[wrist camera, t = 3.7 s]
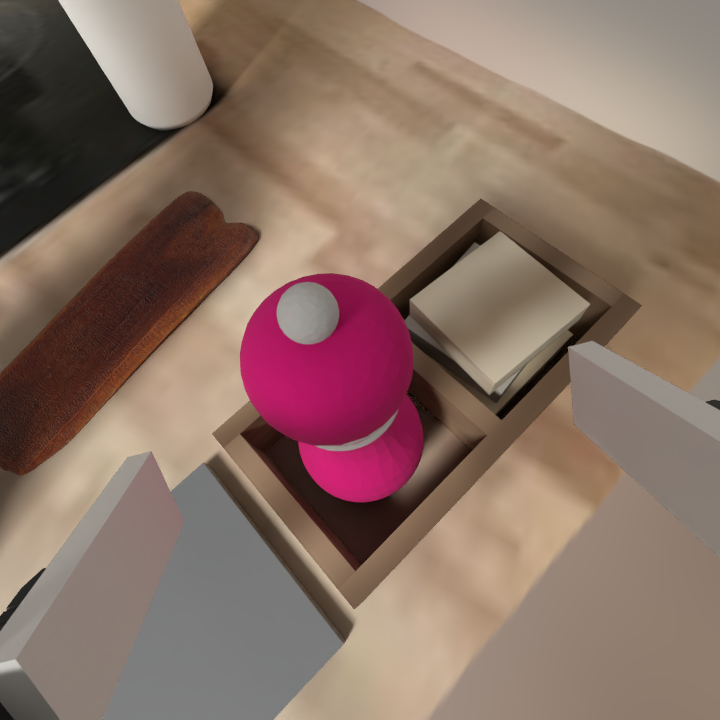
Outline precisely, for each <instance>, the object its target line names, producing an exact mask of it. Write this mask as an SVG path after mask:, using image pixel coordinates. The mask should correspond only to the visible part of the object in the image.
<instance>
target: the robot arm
mask: <svg viewBox="0 0 720 720" xmlns="http://www.w3.org/2000/svg"><path fill="white" fill-rule="evenodd" d="M568 353H569V367H570V380H571V393H572V407H573V420H574V425H575V426H576V427H577V428H578V429H579V430H580V431H582V432H583V433H584V434H585V435H586V436H587V437H588V438H589V439H590V440H591V441H592V442H594V443H595V444H596V445H597V446H598V447H599V448H600V449H601V450H602V451H603V452H604V453H606V454H607V455H608V456H609V457H610V458H611V459H612V460H613V461H614V462H615V463H616V464H618V465H619V466H620V467H621V468H622V469H623V470H624V471H625V472H626V473H627V474H629V475H630V476H631V477H632V478H633V479H634V480H635V481H636V482H637V483H638V484H639V485H641V486H642V487H643V488H644V489H645V490H646V491H647V492H648V493H649V494H650V495H651V496H653V497H654V498H655V499H656V500H657V501H658V502H659V503H660V504H661V505H662V506H663V507H665V508H666V509H667V510H668V511H669V512H670V513H671V514H672V515H673V516H674V517H675V518H677V519H678V520H679V521H680V522H681V523H682V524H683V525H684V526H685V527H686V528H687V529H689V530H690V531H691V532H692V533H693V534H694V535H695V536H696V537H697V538H698V539H699V540H701V541H702V542H703V543H704V544H705V545H706V546H707V547H708V548H709V549H710V550H711V551H713V552H714V553H715V554H716V555H717V556H718V557H719V558H720V401H717V400H711V401H707V402H704V401H702V400H700V399H698V398H696V397H695V396H693V395H691V394H689V393H687V392H686V391H684V390H682V389H680V388H678V387H676V386H675V385H673V384H671V383H669V382H667V381H665V380H664V379H662V378H660V377H658V376H656V375H654V374H652V373H651V372H649V371H647V370H645V369H643V368H641V367H640V366H638V365H636V364H634V363H632V362H630V361H629V360H627V359H625V358H623V357H621V356H619V355H618V354H616V353H614V352H612V351H610V350H608V349H607V348H605V347H603V346H601V345H599V344H597V343H596V342H594V341H590V342H586V343H582V344H578V345H574V346H570V347H568ZM183 524H184V520H183V517H182V515H181V513H180V511H179V509H178V507H177V505H176V503H175V500H174V498H173V496H172V494H171V492H170V490H169V488H168V485H167V483H166V481H165V479H164V477H163V475H162V473H161V471H160V468H159V466H158V464H157V462H156V460H155V458H154V456H153V454H152V451H151V452H147V453H143V454H139V455H135V456H131V457H127V459H126V460H125V461H124V463H123V464H122V465H121V467H120V468H119V470H118V471H117V472H116V474H115V475H114V476H113V478H112V479H111V480H110V482H109V483H108V485H107V486H106V487H105V489H104V490H103V491H102V493H101V494H100V496H99V497H98V498H97V500H96V501H95V502H94V504H93V505H92V506H91V508H90V509H89V511H88V512H87V513H86V515H85V516H84V517H83V519H82V520H81V522H80V523H79V524H78V526H77V527H76V528H75V530H74V531H73V532H72V534H71V535H70V537H69V538H68V539H67V541H66V542H65V543H64V545H63V546H62V548H61V549H60V550H59V552H58V553H57V554H56V556H55V557H54V558H53V560H52V561H51V563H50V564H49V565H48V567H47V568H44V569H42V570H41V571H40V572H39V573H38V574H37V575H35V576H34V577H33V578H32V579H31V580H30V581H29V582H28V583H27V584H25V585H24V586H23V587H22V588H21V590H20V591H19V592H18V594H17V595H16V596H15V597H14V599H13V600H12V601H11V603H10V604H9V605H8V607H7V611H6V612H3V613H2V615H1V616H0V720H102V719H103V717H104V715H105V712H106V710H107V707H108V705H109V703H110V700H111V698H112V695H113V693H114V691H115V688H116V686H117V683H118V681H119V678H120V676H121V674H122V671H123V669H124V666H125V664H126V662H127V659H128V657H129V654H130V652H131V649H132V647H133V645H134V642H135V640H136V637H137V635H138V633H139V630H140V628H141V625H142V623H143V621H144V618H145V616H146V613H147V611H148V608H149V606H150V604H151V601H152V599H153V596H154V594H155V592H156V589H157V587H158V584H159V582H160V579H161V577H162V575H163V572H164V570H165V567H166V565H167V563H168V560H169V558H170V555H171V553H172V551H173V548H174V546H175V543H176V541H177V538H178V536H179V534H180V531H181V529H182V526H183Z"/></svg>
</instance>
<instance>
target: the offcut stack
mask: <svg viewBox="0 0 720 720" xmlns="http://www.w3.org/2000/svg"><path fill="white" fill-rule="evenodd" d="M589 305H590V303H588V302H587V301H586V300H585V299H583V298H582V297H581V296H580V295H578V294H577V293H576V292H575V291H574V290H572V289H571V288H570V287H569V286H567V285H566V284H565V283H564V282H562V281H561V280H560V279H559V278H558V277H556V276H555V275H554V274H553V273H551V272H550V271H549V270H548V269H546V268H545V267H544V266H543V265H541V264H540V263H539V262H538V261H537V260H535V259H534V258H533V257H532V256H530V255H529V254H528V253H527V252H525V251H524V250H523V249H522V248H520V247H519V246H518V245H517V244H516V243H514V242H513V241H512V240H511V239H509V238H508V237H507V236H506V235H504V234H503V233H502V232H501V231H500V232H498V233H497V234H496V235H494V236H493V237H492V238H490V239H489V240H488V241H486V242H485V243H484V244H482V245H481V246H480V245H478V244H477V243H475V242H474V243H473V245H472V246H471V247H470V248H469V249H468V250H467V251H466V252H465V254H464V255H463V256H462V257H461V258H460V259H459V260H458V261H457V262H456V264H455V265H454V266H453V267H452V268H451V269H449V270H448V271H447V272H445V273H444V274H443V275H441V276H440V277H439V278H437V279H436V280H435V281H434V282H432V283H431V284H430V285H428V286H427V287H426V288H424V289H423V290H422V291H420V292H419V293H418V294H416V295H415V296H414V297H412V298H411V299H410V315H409V316H408V317H407V318H406V320H405V323H406V326H407V328H408V331H409V333H410V337H411V342H412V343H413V344H415V345H416V346H417V347H418V348H419V349H420V350H421V351H423V352H424V353H425V354H426V355H427V356H428V357H430V358H431V359H432V360H433V361H434V362H435V363H436V364H438V365H439V366H440V367H441V368H442V369H443V370H444V371H446V372H447V373H448V374H449V375H450V376H451V377H453V378H454V379H455V380H456V381H457V382H458V383H459V384H461V385H462V386H463V387H464V388H465V389H466V390H467V391H469V392H470V393H471V394H472V395H473V396H474V397H476V398H477V399H478V400H479V401H480V402H481V403H482V404H484V405H485V406H486V407H487V408H488V409H489V410H490V411H492V412H493V413H494V414H495V415H496V416H497V415H498V414H499V413H500V412H501V411H502V410H503V409H504V408H505V407H506V406H507V405H508V404H509V403H510V402H511V401H512V400H513V399H514V398H515V397H516V396H517V395H518V394H519V393H520V392H521V391H522V390H523V389H524V388H525V387H526V386H527V385H528V384H529V383H530V381H531V380H532V379H533V378H534V377H535V376H536V375H537V374H538V373H539V372H540V371H541V370H542V369H543V368H544V367H545V366H546V365H547V364H548V363H549V362H550V361H551V360H552V359H553V358H554V357H555V356H556V355H557V354H558V353H559V352H560V351H561V350H562V349H563V348H564V346H565V345H566V344H567V342H568V341H569V339H570V338H571V337H572V335H573V334H572V333H571V332H570V331H568V329H569V328H570V327H572V326H573V325H574V324H575V323H576V322H578V321H579V320H580V318H581V317H582V315H583V314H584V313H585V311H586V310H587V308H588V307H589Z"/></svg>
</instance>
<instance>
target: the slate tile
mask: <svg viewBox="0 0 720 720" xmlns="http://www.w3.org/2000/svg"><path fill="white" fill-rule="evenodd" d="M171 494H172V496H173V498H174V500H175V503H176V505H177V507H178V509H179V511H180V513H181V515H182V517H183V520H184V524H183V526H182V529H181V531H180V534H179V536H178V538H177V541H176V543H175V546H174V548H173V551H172V553H171V555H170V558H169V560H168V563H167V565H166V567H165V570H164V572H163V575H162V577H161V579H160V582H159V584H158V587H157V589H156V592H155V594H154V596H153V599H152V601H151V604H150V606H149V608H148V611H147V613H146V616H145V618H144V621H143V623H142V625H141V628H140V630H139V633H138V635H137V637H136V640H135V642H134V645H133V647H132V649H131V652H130V654H129V657H128V659H127V662H126V664H125V666H124V669H123V671H122V674H121V676H120V678H119V681H118V683H117V686H116V688H115V691H114V693H113V695H112V698H111V700H110V703H109V705H108V707H107V710H106V712H105V715H104V717H103V719H102V720H273V719H274V718H275V717H276V716H277V715H278V714H279V713H280V712H281V711H282V710H283V709H284V707H285V706H286V705H287V704H288V703H289V702H290V701H291V700H292V699H293V698H294V697H295V696H296V695H297V694H298V692H299V691H300V690H301V689H302V688H303V687H304V686H305V685H306V684H307V683H308V682H309V681H310V680H311V679H312V677H313V676H314V675H315V674H316V673H317V672H318V671H319V670H320V669H321V668H322V667H323V666H324V665H325V664H326V662H327V661H328V660H329V659H330V658H331V657H332V656H333V655H334V654H335V653H336V652H337V651H338V650H339V649H340V647H341V646H342V645H343V644H344V643H345V642H346V641H345V639H344V638H343V637H342V635H341V634H340V633H339V632H338V630H337V629H336V628H335V626H334V625H333V624H332V623H331V621H330V620H329V619H328V617H327V616H326V615H325V614H324V612H323V611H322V610H321V608H320V607H319V606H318V605H317V603H316V602H315V601H314V599H313V598H312V597H311V596H310V594H309V593H308V592H307V590H306V589H305V588H304V587H303V585H302V584H301V583H300V581H299V580H298V579H297V578H296V576H295V575H294V574H293V572H292V571H291V570H290V569H289V567H288V566H287V565H286V563H285V562H284V561H283V560H282V558H281V557H280V556H279V554H278V553H277V552H276V551H275V549H274V548H273V547H272V546H271V544H270V543H269V542H268V540H267V539H266V538H265V537H264V535H263V534H262V533H261V531H260V530H259V529H258V528H257V526H256V525H255V524H254V522H253V521H252V520H251V519H250V517H249V516H248V515H247V513H246V512H245V511H244V510H243V508H242V507H241V506H240V504H239V503H238V502H237V501H236V499H235V498H234V497H233V495H232V494H231V493H230V492H229V490H228V489H227V488H226V486H225V485H224V484H223V483H222V481H221V480H220V479H219V477H218V476H217V475H216V474H215V472H214V471H213V470H212V468H211V467H210V466H209V465H207V464H205V463H203V464H201V465H200V466H199V467H198V468H197V469H196V470H195V471H194V472H192V473H191V474H190V475H189V476H188V477H187V478H186V479H184V480H183V481H182V482H181V483H180V484H179V485H178V486H177V487H175V488H174V489H173V490H172V491H171Z"/></svg>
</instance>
